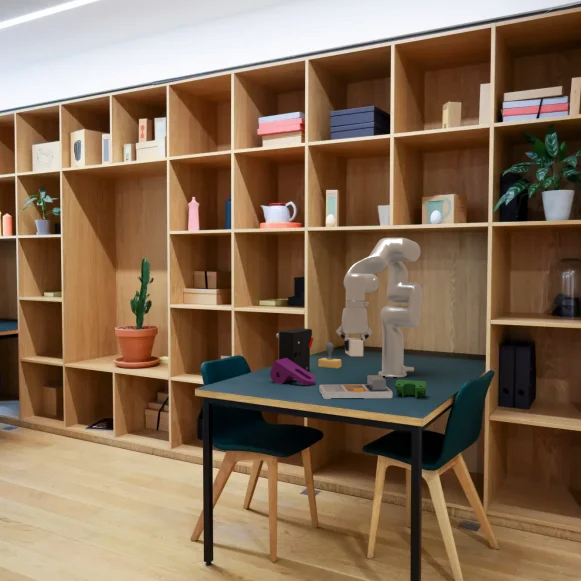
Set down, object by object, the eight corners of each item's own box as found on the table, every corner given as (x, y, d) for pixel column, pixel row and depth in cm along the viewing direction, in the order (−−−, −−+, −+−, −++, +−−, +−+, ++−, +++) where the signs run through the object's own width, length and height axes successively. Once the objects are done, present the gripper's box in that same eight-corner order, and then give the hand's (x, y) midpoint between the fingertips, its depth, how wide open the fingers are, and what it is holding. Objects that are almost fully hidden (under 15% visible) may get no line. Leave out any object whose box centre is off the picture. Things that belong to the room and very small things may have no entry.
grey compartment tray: (383, 390, 248) (383, 374, 248) (392, 398, 234) (392, 381, 234) (319, 391, 246) (319, 374, 246) (324, 399, 232) (324, 381, 232)
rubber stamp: (318, 366, 302) (318, 342, 301) (323, 365, 307) (323, 341, 306) (336, 368, 297) (337, 343, 296) (341, 366, 302) (341, 342, 302)
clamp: (400, 407, 238) (390, 387, 237) (402, 400, 243) (393, 380, 242) (429, 399, 233) (419, 378, 231) (431, 392, 238) (421, 371, 237)
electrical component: (294, 369, 292) (294, 327, 291) (313, 372, 287) (313, 329, 286) (274, 376, 277) (274, 331, 276) (294, 378, 272) (294, 333, 271)
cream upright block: (345, 352, 252) (345, 338, 252) (357, 352, 253) (357, 338, 252) (350, 356, 242) (350, 340, 242) (363, 356, 243) (363, 341, 242)
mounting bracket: (311, 396, 264) (279, 374, 272) (319, 379, 262) (286, 357, 269) (300, 400, 256) (267, 377, 264) (308, 383, 254) (275, 360, 261)
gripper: (374, 304, 251) (373, 349, 252) (332, 304, 250) (331, 349, 250) (378, 305, 243) (377, 352, 244) (335, 305, 242) (334, 351, 243)
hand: (354, 350), depth 247 cm, fingers closed on cream upright block, 5 cm apart
